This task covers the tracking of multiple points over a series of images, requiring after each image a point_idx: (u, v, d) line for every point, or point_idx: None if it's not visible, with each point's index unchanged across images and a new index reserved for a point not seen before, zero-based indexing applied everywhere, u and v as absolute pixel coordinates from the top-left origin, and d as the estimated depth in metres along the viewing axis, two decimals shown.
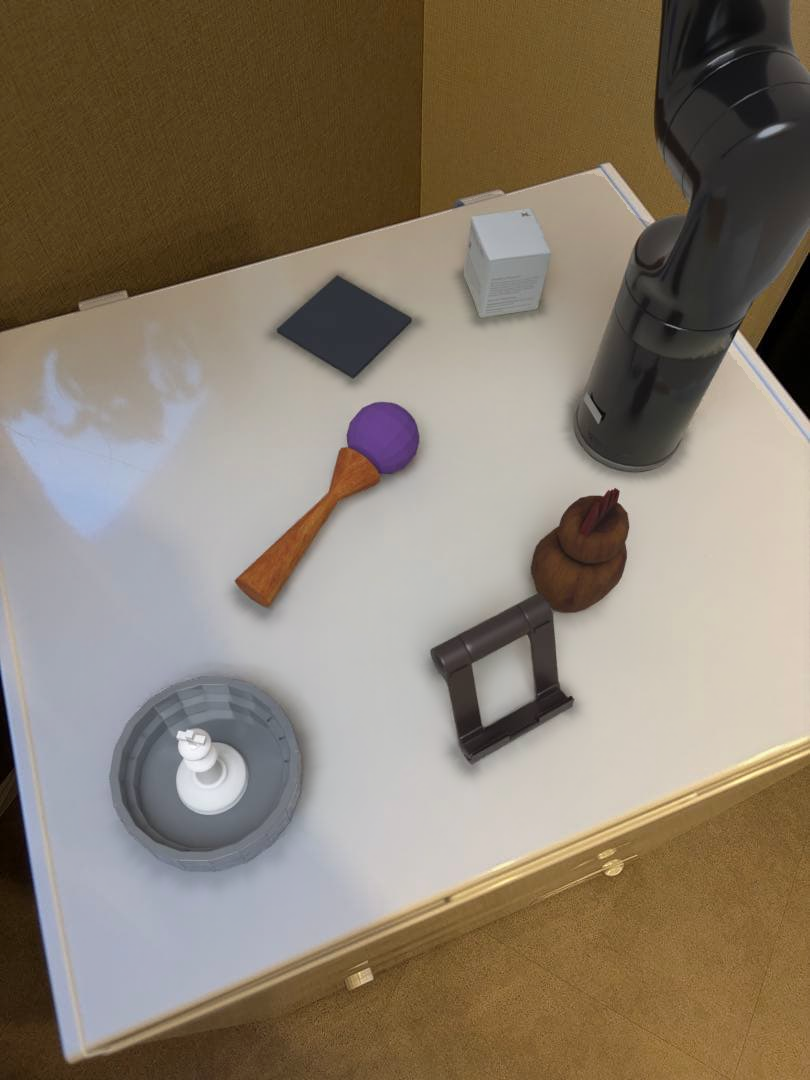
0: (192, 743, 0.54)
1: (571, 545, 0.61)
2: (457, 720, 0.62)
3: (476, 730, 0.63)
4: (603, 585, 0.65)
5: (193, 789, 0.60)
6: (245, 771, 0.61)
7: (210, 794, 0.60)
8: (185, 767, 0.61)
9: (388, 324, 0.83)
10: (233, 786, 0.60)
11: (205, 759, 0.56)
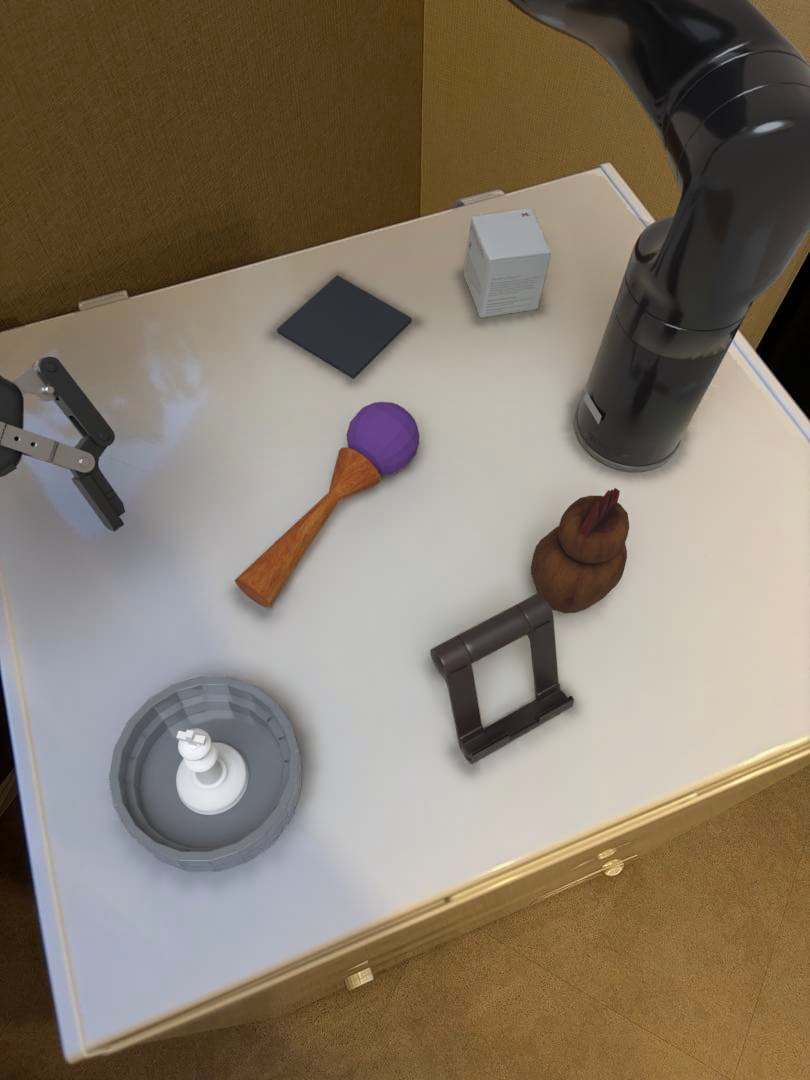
0: (192, 743, 0.54)
1: (571, 545, 0.61)
2: (457, 720, 0.62)
3: (476, 730, 0.63)
4: (603, 585, 0.65)
5: (193, 789, 0.60)
6: (245, 771, 0.61)
7: (210, 794, 0.60)
8: (185, 767, 0.61)
9: (388, 324, 0.83)
10: (233, 786, 0.60)
11: (205, 759, 0.56)
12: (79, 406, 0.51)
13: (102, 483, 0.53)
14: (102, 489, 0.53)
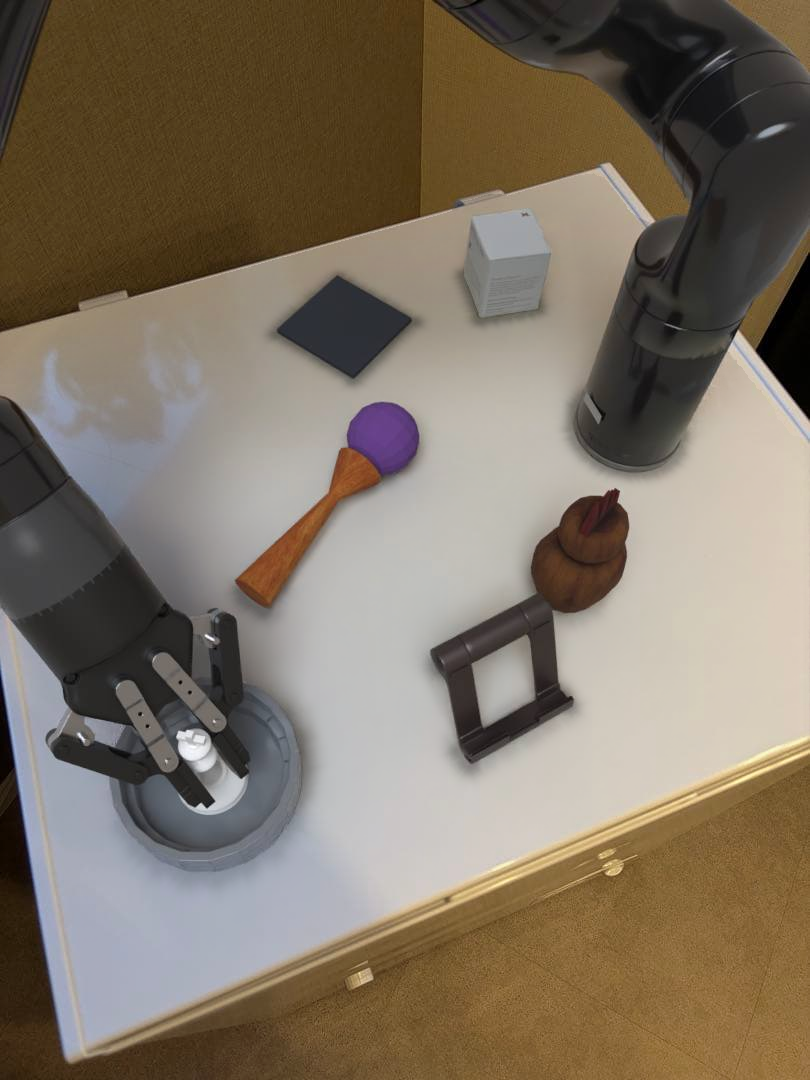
0: (192, 743, 0.54)
1: (571, 545, 0.61)
2: (457, 720, 0.62)
3: (476, 730, 0.63)
4: (603, 585, 0.65)
5: None
6: None
7: (210, 794, 0.60)
8: None
9: (388, 324, 0.83)
10: (233, 786, 0.60)
11: (205, 759, 0.56)
12: (230, 664, 0.55)
13: (231, 737, 0.57)
14: (230, 743, 0.57)
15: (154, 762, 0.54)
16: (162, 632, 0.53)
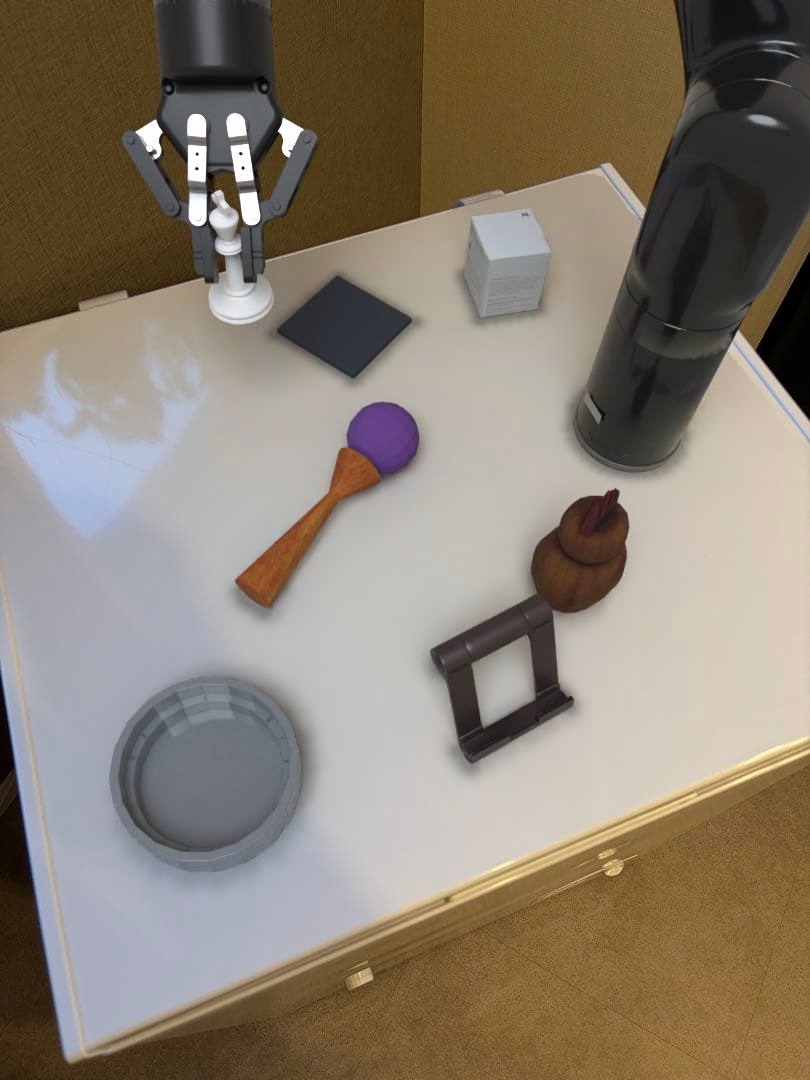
0: (219, 208, 0.60)
1: (571, 545, 0.61)
2: (457, 720, 0.62)
3: (476, 730, 0.63)
4: (603, 585, 0.65)
5: (219, 290, 0.67)
6: (264, 306, 0.66)
7: (226, 300, 0.66)
8: None
9: (388, 324, 0.83)
10: (247, 307, 0.66)
11: (228, 245, 0.62)
12: (289, 175, 0.60)
13: (257, 241, 0.62)
14: (254, 246, 0.62)
15: (189, 210, 0.61)
16: (253, 105, 0.59)
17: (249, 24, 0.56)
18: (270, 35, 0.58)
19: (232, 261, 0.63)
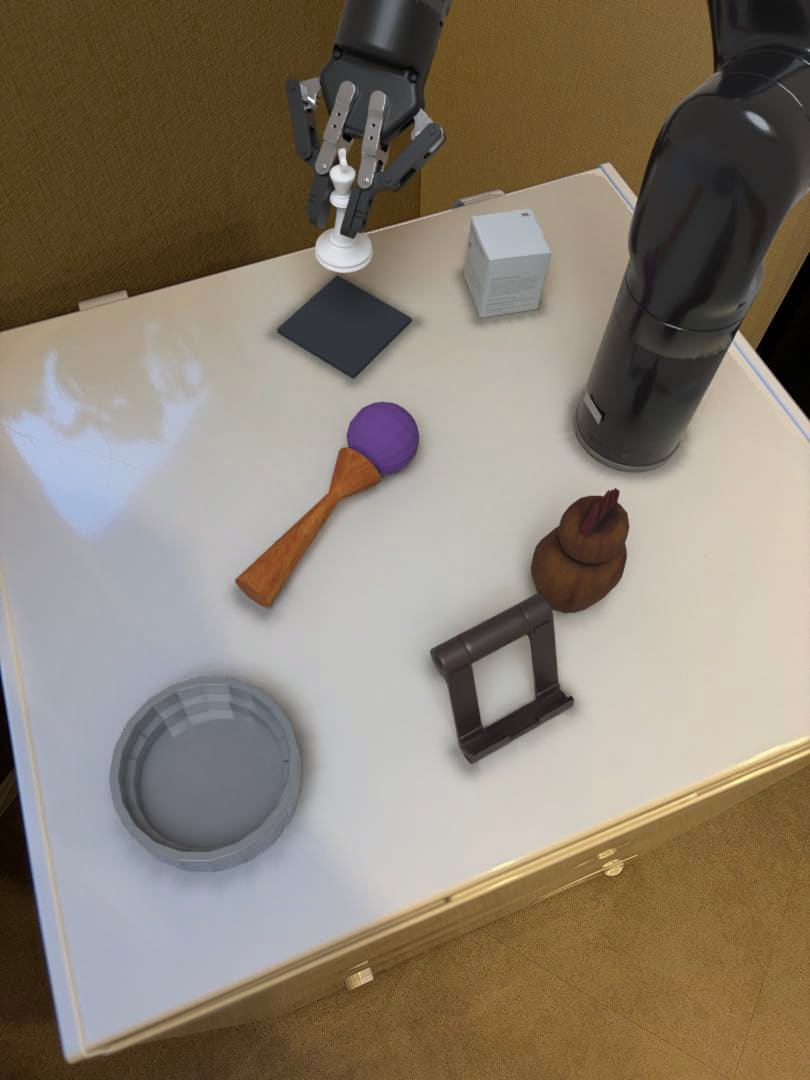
0: (340, 164, 0.68)
1: (571, 545, 0.61)
2: (457, 720, 0.62)
3: (476, 730, 0.63)
4: (603, 585, 0.65)
5: (327, 237, 0.75)
6: (357, 263, 0.75)
7: (329, 247, 0.75)
8: None
9: (388, 324, 0.83)
10: (342, 258, 0.74)
11: (340, 198, 0.71)
12: (407, 156, 0.68)
13: (362, 203, 0.70)
14: (359, 206, 0.70)
15: None
16: (399, 89, 0.67)
17: (415, 20, 0.64)
18: (434, 36, 0.66)
19: (341, 214, 0.72)
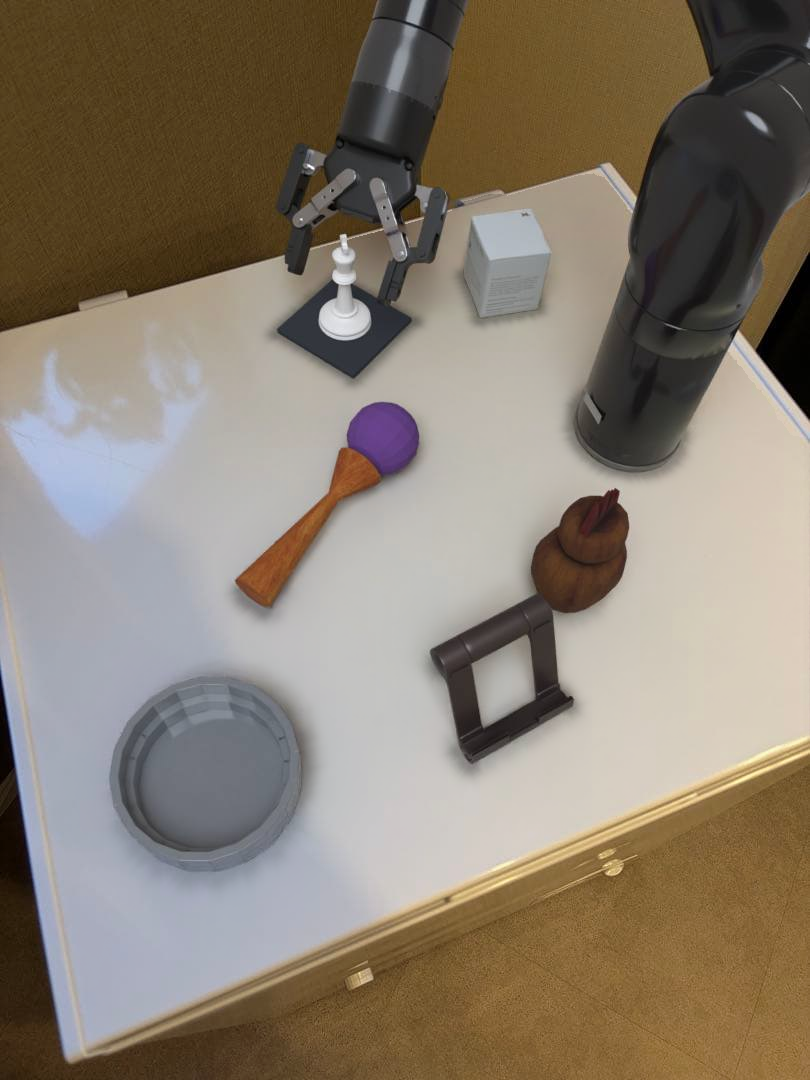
0: (341, 247, 0.76)
1: (571, 545, 0.61)
2: (457, 720, 0.62)
3: (476, 730, 0.63)
4: (603, 585, 0.65)
5: (330, 307, 0.82)
6: (357, 331, 0.82)
7: (331, 317, 0.82)
8: None
9: (388, 324, 0.83)
10: (343, 327, 0.81)
11: (342, 276, 0.78)
12: (427, 226, 0.74)
13: (398, 275, 0.76)
14: (394, 277, 0.76)
15: (295, 213, 0.77)
16: (395, 176, 0.74)
17: (410, 117, 0.71)
18: (428, 129, 0.73)
19: (342, 289, 0.79)
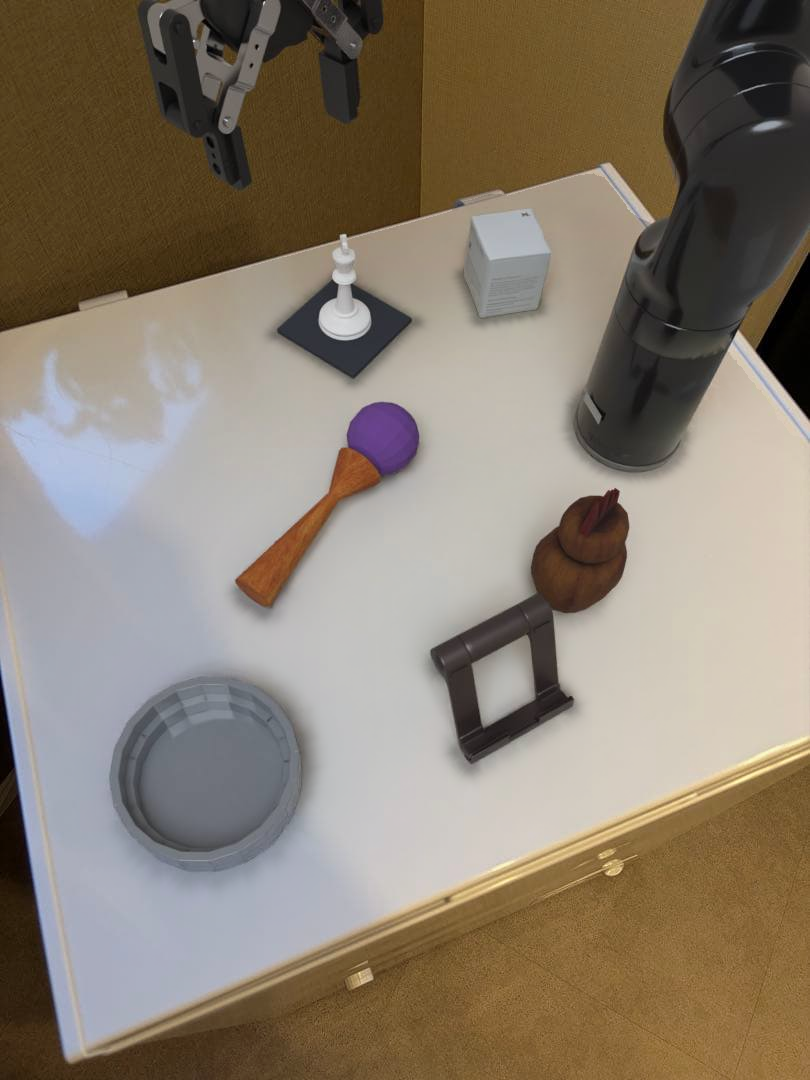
0: (341, 247, 0.76)
1: (571, 545, 0.61)
2: (457, 720, 0.62)
3: (476, 730, 0.63)
4: (603, 585, 0.65)
5: (330, 307, 0.82)
6: (357, 331, 0.82)
7: (331, 317, 0.82)
8: None
9: (388, 324, 0.83)
10: (343, 327, 0.81)
11: (342, 276, 0.78)
12: None
13: (353, 71, 0.52)
14: None
15: (211, 116, 0.46)
16: None
17: None
18: None
19: (342, 289, 0.79)
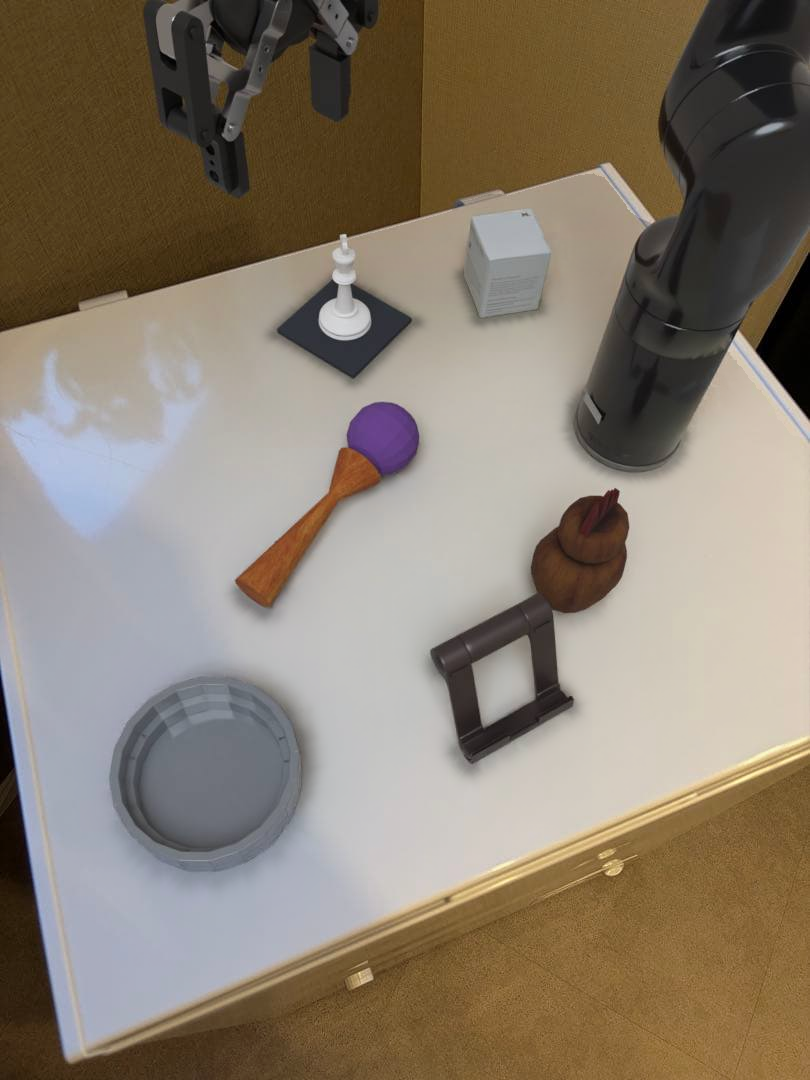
0: (341, 247, 0.76)
1: (571, 545, 0.61)
2: (457, 720, 0.62)
3: (476, 730, 0.63)
4: (603, 585, 0.65)
5: (330, 307, 0.82)
6: (357, 331, 0.82)
7: (331, 317, 0.82)
8: None
9: (388, 324, 0.83)
10: (343, 327, 0.81)
11: (342, 276, 0.78)
12: None
13: None
14: None
15: (215, 123, 0.43)
16: None
17: None
18: None
19: (342, 289, 0.79)
